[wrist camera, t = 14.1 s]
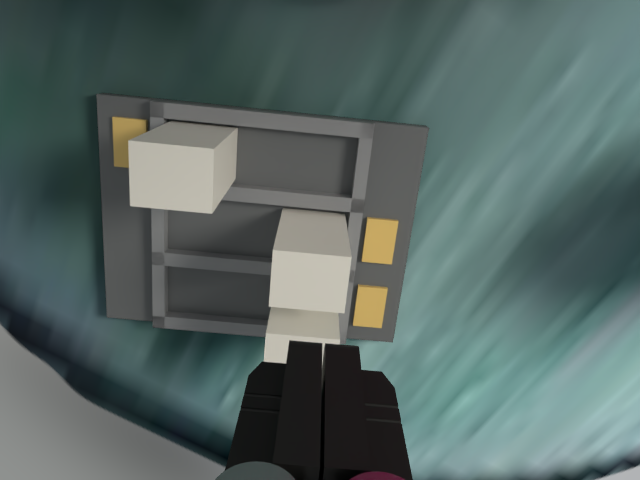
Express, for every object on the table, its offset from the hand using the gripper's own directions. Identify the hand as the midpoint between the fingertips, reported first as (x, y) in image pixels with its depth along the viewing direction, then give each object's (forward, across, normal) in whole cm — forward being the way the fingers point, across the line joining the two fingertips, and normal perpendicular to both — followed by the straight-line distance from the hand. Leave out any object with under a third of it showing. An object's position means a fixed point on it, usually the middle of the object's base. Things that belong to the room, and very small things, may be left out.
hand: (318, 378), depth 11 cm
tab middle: (+22, 0, +5) cm, 23 cm away
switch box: (+23, +4, +4) cm, 24 cm away
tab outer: (+22, 0, +9) cm, 24 cm away
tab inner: (+22, +8, 0) cm, 23 cm away
